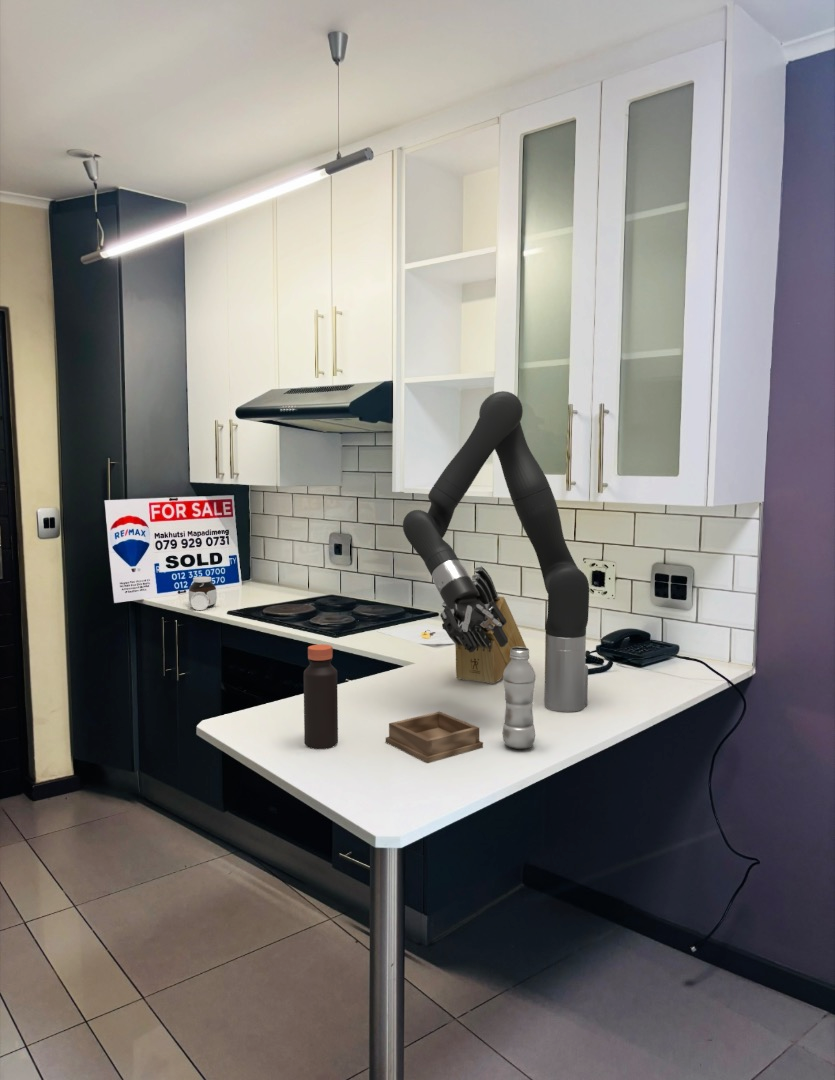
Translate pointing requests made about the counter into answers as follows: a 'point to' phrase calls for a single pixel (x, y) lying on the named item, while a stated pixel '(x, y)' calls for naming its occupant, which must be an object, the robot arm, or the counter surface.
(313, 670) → the vinegar
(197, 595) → the spread jar
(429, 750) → the square wooden tray
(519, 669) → the silver metal bottle
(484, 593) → the knife block
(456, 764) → the counter surface
